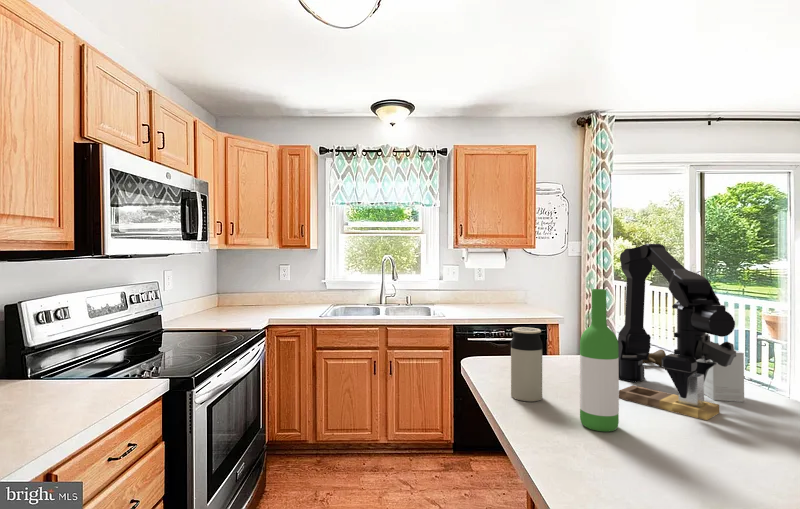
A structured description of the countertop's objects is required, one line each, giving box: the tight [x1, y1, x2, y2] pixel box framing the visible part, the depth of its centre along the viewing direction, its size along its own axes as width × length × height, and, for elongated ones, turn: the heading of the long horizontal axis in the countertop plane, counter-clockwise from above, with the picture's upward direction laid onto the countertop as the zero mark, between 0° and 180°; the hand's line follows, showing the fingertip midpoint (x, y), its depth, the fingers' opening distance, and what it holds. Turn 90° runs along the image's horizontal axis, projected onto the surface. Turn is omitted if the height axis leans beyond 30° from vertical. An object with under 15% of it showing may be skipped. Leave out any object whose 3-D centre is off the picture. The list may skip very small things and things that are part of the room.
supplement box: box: [704, 349, 745, 403], centre depth 117 cm, size 7×7×13 cm
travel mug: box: [510, 326, 543, 403], centre depth 116 cm, size 8×8×18 cm
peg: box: [678, 373, 705, 408], centre depth 106 cm, size 4×4×9 cm
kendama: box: [643, 349, 667, 368], centre depth 155 cm, size 6×10×20 cm
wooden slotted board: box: [619, 385, 720, 421], centre depth 110 cm, size 20×8×2 cm, turn 37°
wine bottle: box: [579, 288, 620, 433], centre depth 96 cm, size 8×8×30 cm
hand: (691, 394), depth 106 cm, fingers open, 9 cm apart
